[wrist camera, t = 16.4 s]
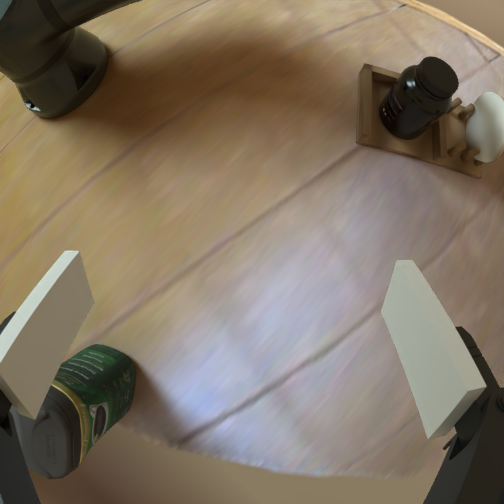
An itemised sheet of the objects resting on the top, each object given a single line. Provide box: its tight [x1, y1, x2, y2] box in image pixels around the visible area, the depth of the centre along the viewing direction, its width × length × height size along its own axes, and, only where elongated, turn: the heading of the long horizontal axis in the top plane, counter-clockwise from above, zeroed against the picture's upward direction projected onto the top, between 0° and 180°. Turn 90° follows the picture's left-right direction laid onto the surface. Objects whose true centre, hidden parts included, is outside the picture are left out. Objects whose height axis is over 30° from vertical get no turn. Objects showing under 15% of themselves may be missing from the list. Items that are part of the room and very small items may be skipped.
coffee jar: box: [9, 344, 135, 479], centre depth 27 cm, size 10×8×19 cm
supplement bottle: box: [379, 57, 459, 140], centre depth 31 cm, size 7×7×12 cm
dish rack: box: [356, 64, 504, 179], centre depth 33 cm, size 20×11×11 cm, turn 81°
